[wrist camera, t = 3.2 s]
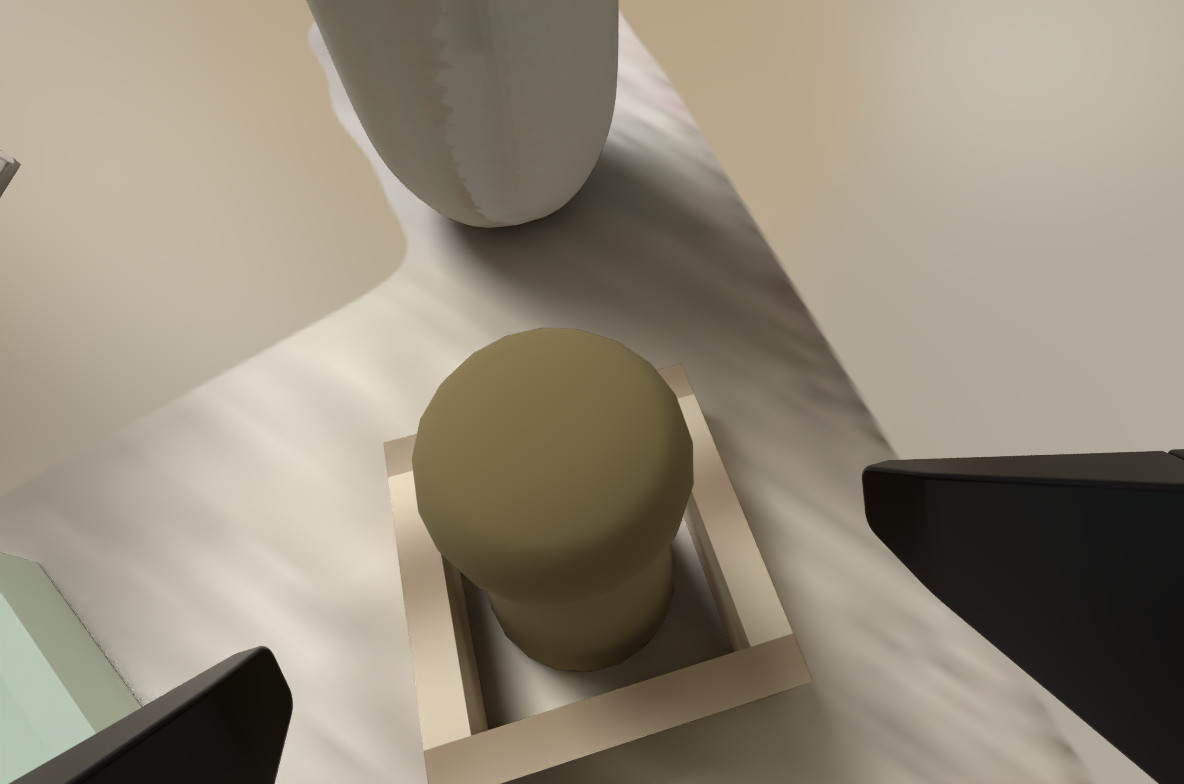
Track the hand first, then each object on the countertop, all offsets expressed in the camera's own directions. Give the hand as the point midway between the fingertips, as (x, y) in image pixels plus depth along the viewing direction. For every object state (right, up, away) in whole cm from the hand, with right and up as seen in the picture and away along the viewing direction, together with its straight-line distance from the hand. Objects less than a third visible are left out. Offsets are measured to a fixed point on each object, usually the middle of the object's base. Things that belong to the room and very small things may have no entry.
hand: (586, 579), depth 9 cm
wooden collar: (0, -3, +11) cm, 11 cm away
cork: (0, -3, +11) cm, 11 cm away
